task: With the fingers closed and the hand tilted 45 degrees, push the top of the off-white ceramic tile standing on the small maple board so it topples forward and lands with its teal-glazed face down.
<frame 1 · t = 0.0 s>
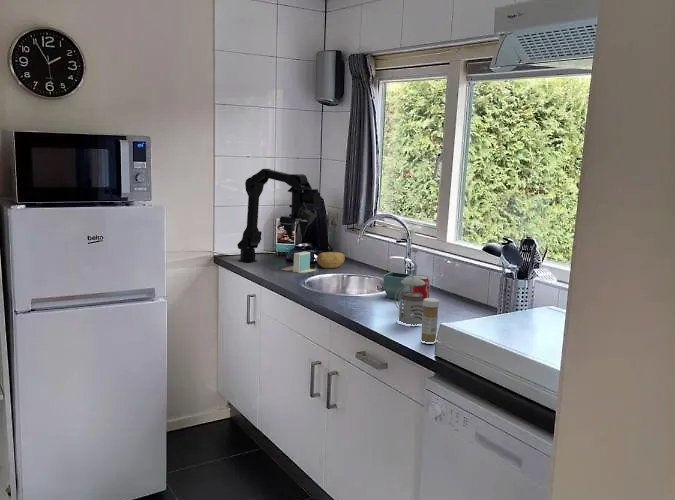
hand: (296, 237, 278), 15 cm above the counter, tool pointing down, fingers open, 9 cm apart
french press: (408, 323, 206), on the counter
potato: (330, 269, 288), on the counter
sprinkles bottle: (428, 343, 187), on the counter
flower pot: (396, 298, 240), on the counter
tile: (301, 270, 277), point 1 cm above the counter, touching board
soda can: (418, 310, 224), on the counter
board: (298, 271, 279), on the counter
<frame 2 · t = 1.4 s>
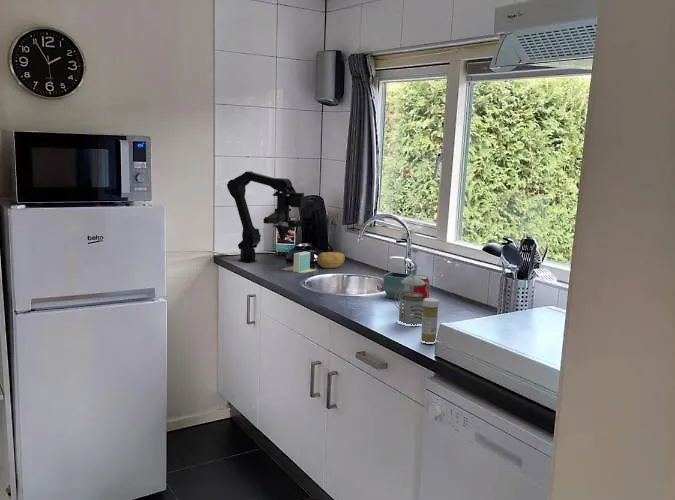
hand: (282, 240, 287), 12 cm above the counter, tool pointing down, fingers closed
nothing on the counter moved.
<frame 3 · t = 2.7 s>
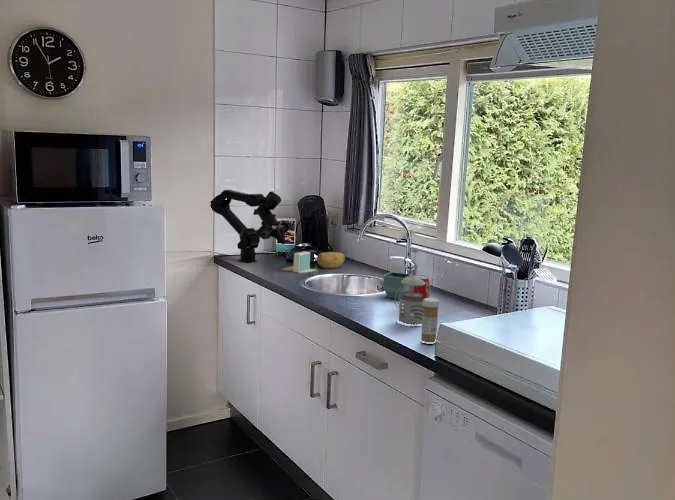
hand: (284, 243, 281), 11 cm above the counter, tool tilted 45°, fingers closed
nothing on the counter moved.
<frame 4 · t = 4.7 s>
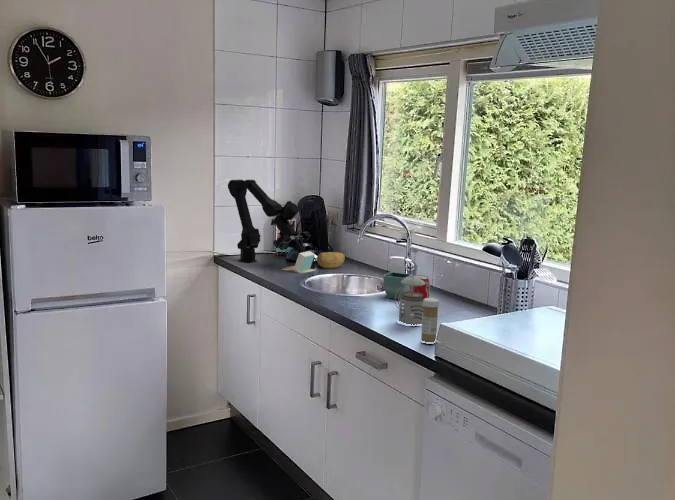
hand: (303, 254, 275), 8 cm above the counter, tool tilted 45°, fingers closed
tile: (301, 269, 277), point 1 cm above the counter, tilted 18°, touching board
everything else where it was.
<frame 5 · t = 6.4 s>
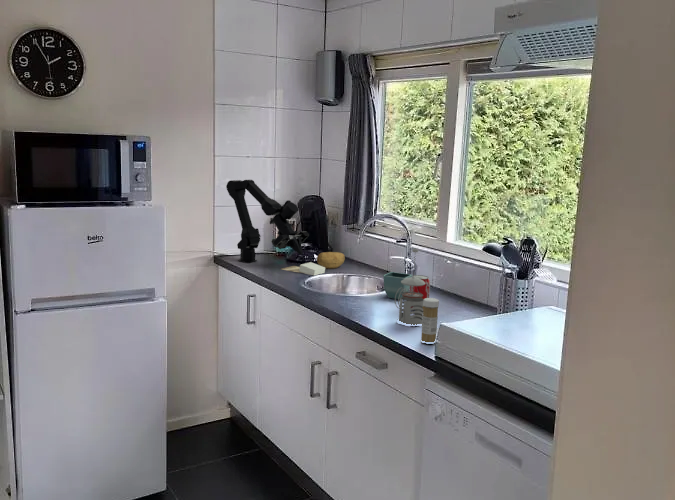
hand: (301, 254, 276), 8 cm above the counter, tool tilted 45°, fingers closed
tile: (305, 266, 275), point 3 cm above the counter, tilted 99°, touching board
everything else where it was.
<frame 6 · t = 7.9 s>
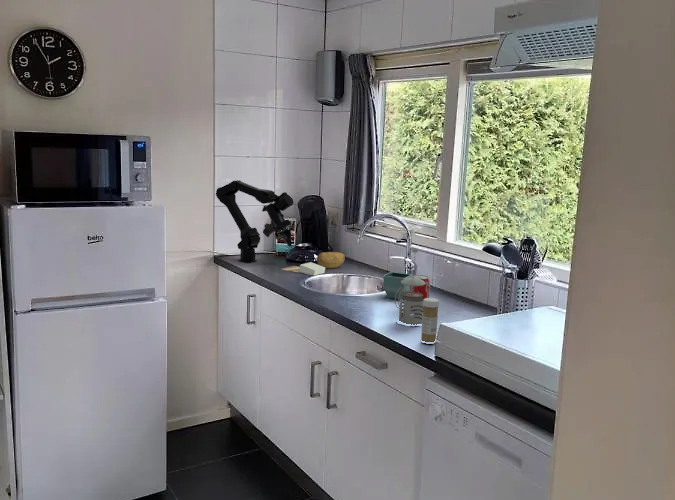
hand: (290, 246, 282), 10 cm above the counter, tool tilted 35°, fingers closed
nothing on the counter moved.
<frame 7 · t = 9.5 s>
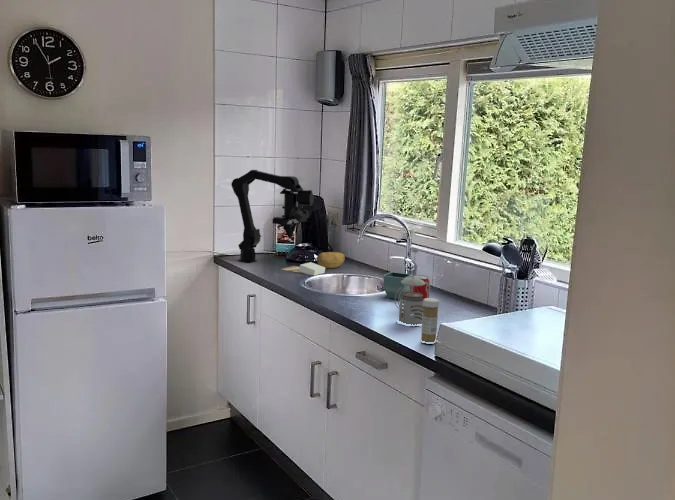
hand: (290, 238, 288), 13 cm above the counter, tool pointing down, fingers closed
nothing on the counter moved.
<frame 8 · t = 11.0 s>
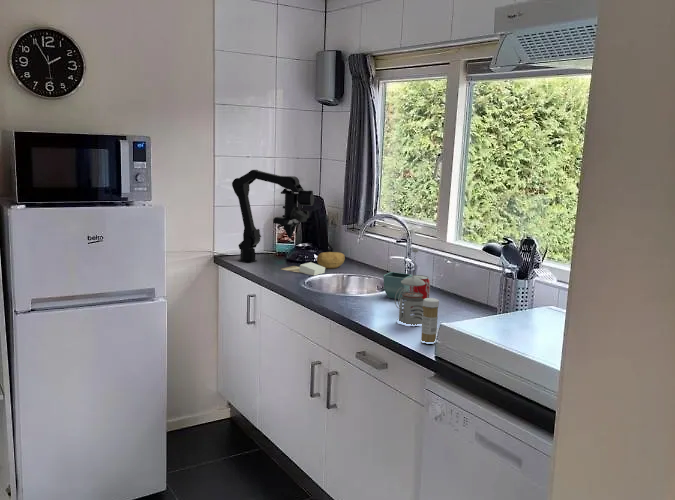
hand: (289, 237, 288), 13 cm above the counter, tool pointing down, fingers closed
nothing on the counter moved.
at the end: tile tilted 99°; tile 4.4 cm from the board (horizontally) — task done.
